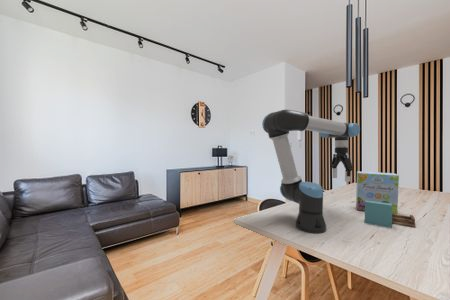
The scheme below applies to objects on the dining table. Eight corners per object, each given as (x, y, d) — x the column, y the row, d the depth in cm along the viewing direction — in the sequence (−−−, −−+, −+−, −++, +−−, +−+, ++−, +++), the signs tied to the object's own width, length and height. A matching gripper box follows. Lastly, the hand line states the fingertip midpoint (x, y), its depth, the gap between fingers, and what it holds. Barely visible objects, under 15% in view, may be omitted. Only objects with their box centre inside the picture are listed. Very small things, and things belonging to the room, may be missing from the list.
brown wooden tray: (412, 221, 118) (412, 214, 118) (415, 227, 108) (415, 220, 108) (373, 214, 128) (373, 208, 128) (373, 220, 119) (373, 213, 119)
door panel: (391, 227, 108) (392, 205, 108) (364, 222, 116) (364, 201, 115) (391, 225, 112) (391, 203, 111) (364, 220, 119) (365, 200, 119)
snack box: (356, 210, 136) (357, 172, 136) (355, 207, 144) (356, 171, 143) (398, 216, 126) (399, 174, 126) (394, 212, 134) (395, 172, 133)
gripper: (360, 147, 120) (359, 183, 121) (335, 146, 145) (335, 176, 146) (348, 147, 120) (347, 183, 120) (325, 146, 145) (324, 176, 145)
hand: (340, 179), depth 133 cm, fingers open, 13 cm apart
